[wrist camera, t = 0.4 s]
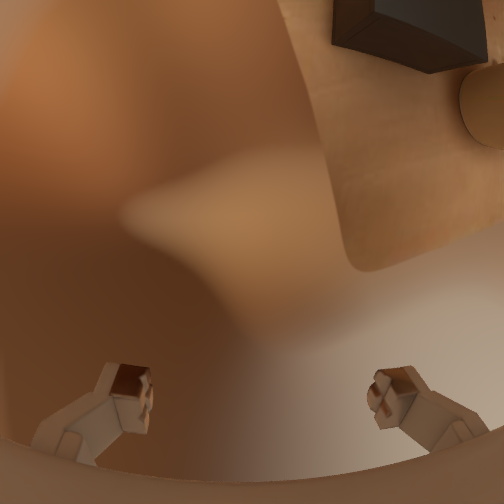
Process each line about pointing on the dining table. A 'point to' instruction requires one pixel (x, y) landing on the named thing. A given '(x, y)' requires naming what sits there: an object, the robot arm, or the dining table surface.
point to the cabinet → (414, 31)
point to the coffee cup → (484, 105)
